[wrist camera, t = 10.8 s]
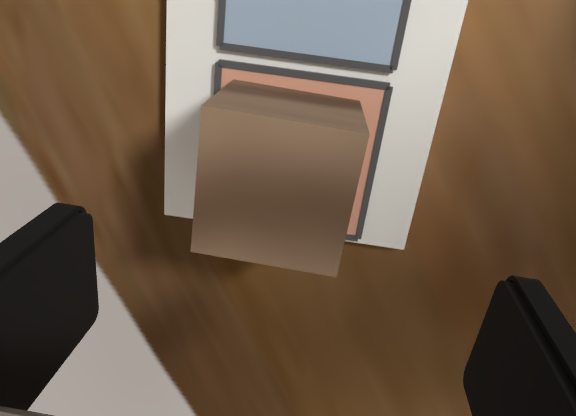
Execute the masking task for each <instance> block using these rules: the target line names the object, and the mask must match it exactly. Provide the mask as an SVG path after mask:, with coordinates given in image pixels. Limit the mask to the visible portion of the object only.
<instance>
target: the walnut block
mask: <svg viewBox="0 0 576 416" xmlns="http://www.w3.org/2000/svg"><path fill="white" fill-rule="evenodd" d="M369 135H370V133H369V130H368V127H367V123H366V120H365V116H364V113H363V110H362V106H361V103H360V101H359V100H353V99H347V98H341V97H335V96H329V95H323V94H317V93H312V92H306V91H300V90H294V89H288V88H282V87H276V86H271V85H265V84H259V83H253V82H247V81H241V80H235V79H233V80H232V81H231V82H230V83H228V84H227V85H226V86H225V87H223V88H222V89H221V90H220V91H218V92H217V93H216V94H215V95H213V96H212V97H211V98H210V99H209V100H207V101H206V102H205V103H204V104H202V105H201V117H200V131H199V144H198V157H197V171H196V184H195V198H194V211H193V225H192V238H191V251H190V252H195V253H200V254H206V255H212V256H217V257H223V258H229V259H234V260H240V261H246V262H252V263H257V264H263V265H269V266H274V267H280V268H286V269H291V270H297V271H303V272H308V273H314V274H320V275H325V276H331V277H337V273H338V269H339V265H340V260H341V256H342V252H343V247H344V243H345V239H346V235H347V230H348V226H349V222H350V217H351V213H352V209H353V204H354V200H355V196H356V191H357V187H358V183H359V178H360V174H361V170H362V165H363V161H364V157H365V152H366V148H367V144H368V139H369Z"/></svg>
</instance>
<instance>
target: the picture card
mask: <svg viewBox="0 0 576 416" xmlns="http://www.w3.org/2000/svg"><path fill="white" fill-rule="evenodd" d="M467 3H468V0H167V20H166V103H165V187H164V215H170V216H177V217H184V218H191V219H193V211H194V198H195V184H196V171H197V157H198V144H199V131H200V117H201V105H202V104H204V103H205V102H206V101H207V100H209V99H210V98H211V97H212V96H213V95H215V94H216V93H217V92H218V91H220V90H221V89H222V88H223V87H225V86H226V85H227V84H228V83H230V82H231V81H232V80H233V79H235V80H241V81H247V82H253V83H259V84H265V85H271V86H276V87H282V88H288V89H294V90H300V91H306V92H312V93H317V94H323V95H329V96H335V97H341V98H347V99H353V100H359V101H360V103H361V106H362V110H363V113H364V116H365V120H366V123H367V127H368V130H369V133H370V135H369V139H368V144H367V148H366V152H365V157H364V161H363V165H362V170H361V174H360V178H359V183H358V187H357V191H356V196H355V200H354V204H353V209H352V213H351V217H350V222H349V226H348V230H347V235H346V239H345V241H347V242H354V243H361V244H368V245H375V246H381V247H388V248H395V249H402V250H404V248H405V244H406V240H407V236H408V232H409V228H410V224H411V220H412V216H413V213H414V209H415V205H416V201H417V197H418V193H419V189H420V185H421V182H422V178H423V174H424V170H425V166H426V162H427V158H428V154H429V150H430V147H431V143H432V139H433V135H434V131H435V127H436V123H437V119H438V115H439V112H440V108H441V104H442V100H443V96H444V92H445V88H446V84H447V81H448V77H449V73H450V69H451V65H452V61H453V57H454V53H455V49H456V46H457V42H458V38H459V34H460V30H461V26H462V22H463V18H464V14H465V11H466V7H467Z"/></svg>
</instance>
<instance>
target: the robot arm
mask: <svg viewBox="0 0 576 416" xmlns="http://www.w3.org/2000/svg"><path fill="white" fill-rule="evenodd" d="M98 308H99V306H98V291H97V276H96V261H95V247H94V232H93V220H92V216H91V215H90V214H87V213H86V211H85V209H84V208H83V207H82V206H76V205H70V204H63V203H55V204H53V205H52V206H51V207H49V208H48V209H46V210H45V211H44V212H42V213H41V214H39V215H38V216H37V217H35V218H34V219H33V220H31V221H30V222H28V223H27V224H26V225H24V226H23V227H21V228H20V229H19V230H17V231H16V232H14V233H13V234H12V235H10V236H9V237H8V238H6V239H5V240H3V241H2V242H1V243H0V416H53V415H48V414H42V413H37V412H31V411H27V410H28V409H29V407H30V406H31V405H32V403H33V402H34V401H35V399H36V398H37V397H38V396H39V394H40V393H41V392H42V390H43V389H44V388H45V386H46V385H47V384H48V382H49V381H50V380H51V378H52V377H53V376H54V375H55V373H56V372H57V371H58V369H59V368H60V367H61V365H62V364H63V363H64V361H65V360H66V359H67V358H68V356H69V355H70V354H71V352H72V351H73V350H74V348H75V347H76V346H77V344H78V343H79V342H80V341H81V339H82V338H83V337H84V335H85V334H86V333H87V331H88V330H89V329H90V328H91V326H92V325H93V323H94V322H95V320H96V318H97V314H98V310H99V309H98ZM463 383H464V389H465V392H466V396H467V399H468V402H469V406H470V409H471V412H472V416H576V333H575V332H574V330H573V329H572V327H571V326H570V324H569V323H568V322H567V320H566V319H565V317H564V316H563V314H562V313H561V311H560V310H559V308H558V307H557V305H556V304H555V302H554V301H553V299H552V298H551V296H550V295H549V293H548V292H547V290H546V289H545V287H544V286H543V284H542V283H541V282H540V281H539V280H536V279H529V278H523V277H517V276H510V277H508V278H507V280H506V281H499V283H498V284H497V286H496V288H495V291H494V294H493V296H492V299H491V302H490V304H489V307H488V310H487V312H486V315H485V318H484V320H483V323H482V326H481V328H480V331H479V334H478V336H477V339H476V342H475V344H474V347H473V350H472V352H471V355H470V357H469V360H468V363H467V365H466V368H465V371H464V377H463Z"/></svg>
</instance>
